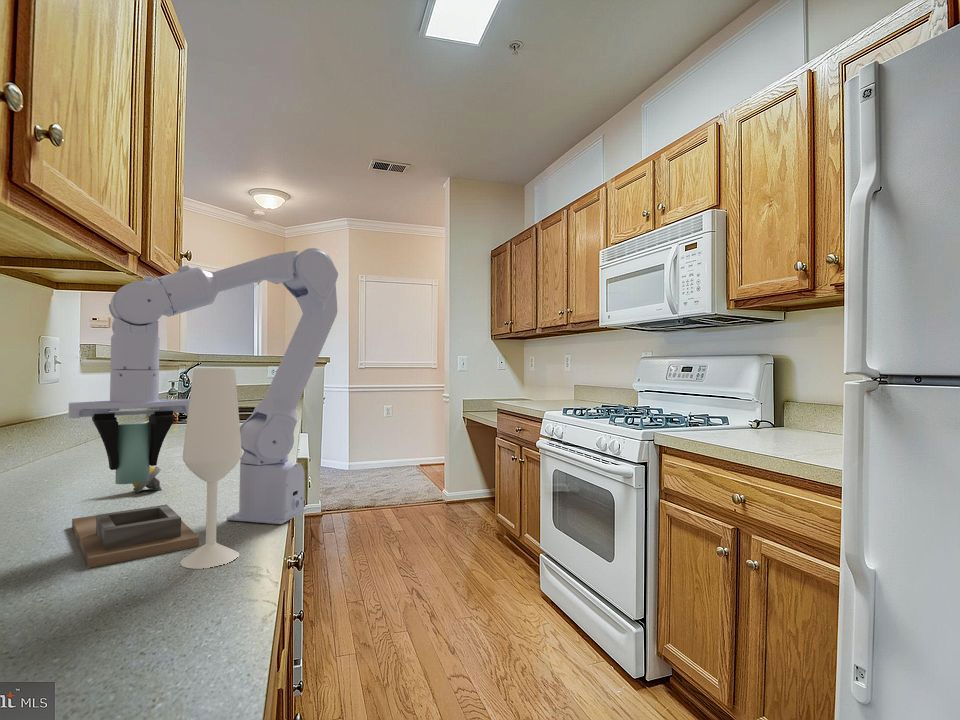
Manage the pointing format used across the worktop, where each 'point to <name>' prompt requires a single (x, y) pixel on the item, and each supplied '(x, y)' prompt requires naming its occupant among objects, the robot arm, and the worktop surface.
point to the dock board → (131, 535)
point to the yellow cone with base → (150, 484)
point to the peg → (133, 453)
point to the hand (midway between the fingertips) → (133, 466)
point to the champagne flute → (212, 450)
